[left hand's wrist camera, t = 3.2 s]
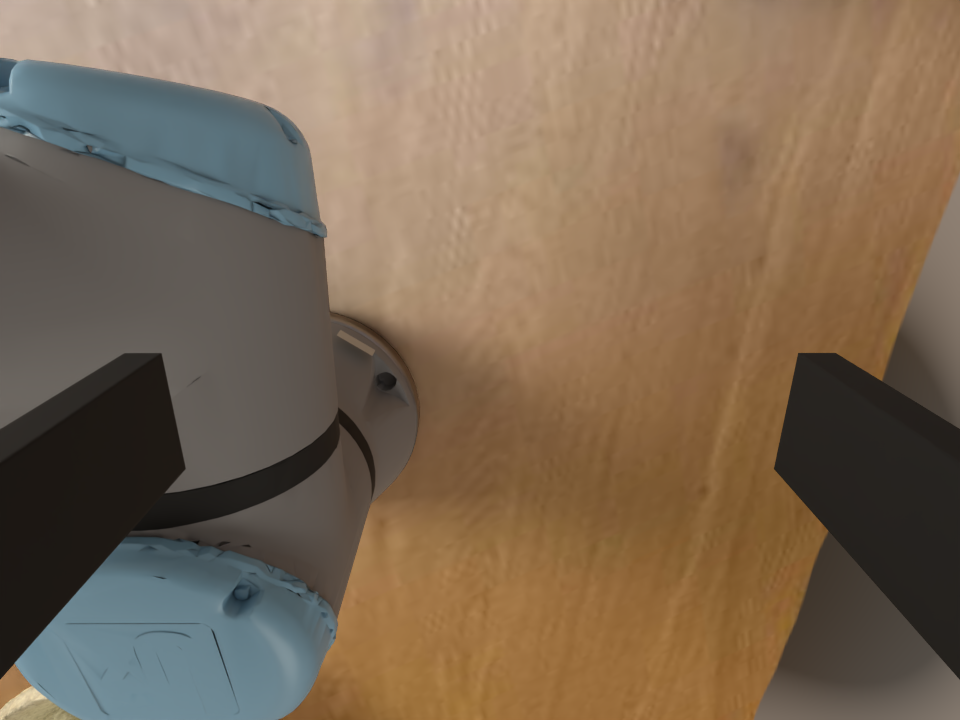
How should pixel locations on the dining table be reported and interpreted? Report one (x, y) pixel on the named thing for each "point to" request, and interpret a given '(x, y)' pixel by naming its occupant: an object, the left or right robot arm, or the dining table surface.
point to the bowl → (33, 708)
